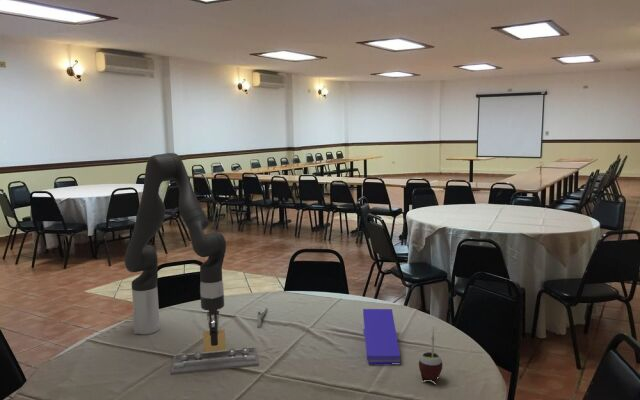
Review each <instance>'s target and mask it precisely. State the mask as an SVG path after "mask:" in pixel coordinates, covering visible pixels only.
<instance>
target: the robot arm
mask: <svg viewBox="0 0 640 400" xmlns="http://www.w3.org/2000/svg"><path fill="white" fill-rule="evenodd" d="M143 179H144V180H143V181H144V182H143V187H142V193H141V194H142V195H141V199H140V202H139V207H138V209H137V210H138V211H137V213H136V217H135V223H134V228H133V231H132V235H131V236H130V240H129V243H128V245H127V248H126V251H125V254H124V265H125V268H126V269H127V271H129V272H131V273H137V272H138V273H139V272H142V273H140V274H139V276H137V277H136V278H134V279H133V280H132V281H131V295H132V311H131V312H132V324H133V334H134V335H135V334H136V335H150V334H154V333H157V332H159V330H160V328H161V323H160V322H161V321H160V311H159V309H160V307H159V294H158V293H159V291H158V277H159V276H158V275H159V273H158V272H159V271H158V268H159V266H158V264H159V263H158V254H157V250H156V248H155V246H153V245H151V244H148V242H149V241H150V240H151V239H153V237H154V236H156V234H158V232H159V231H160V230H161V228H162V226H163V223H164V220H165V215H166V206H165V204H164V201H163V199H162V198H161V196H160V187H161V184H162V183H163V182H169V181H174V182H175V184H176V186H177V188H178V190H179V197H178V209H179V210H178V211H179V213H180V216H181V218H182V220H183V222H184V223H185V226H186V227H187V229H188V233H189V237H190V242H191V245H192V249H193V251H194V252H195V254H196V255H198V257H200V258H207V259H206V260H205V261H204V262H202V263H201V264H200V266H199V274H200V276H199V279H200V284H199V285H200V286H199V289H200V290H199V293H200V307H201V309H202V310H204V311H206V319H207V327H208V329H209V331H210V336H211V346H217V345H218V330H219V327H220V310H221V309H222V308H224V306H225V294H224V293H225V292H224V291H225V290H224V288H225V287H224V282H223V263H224V259H225V256H226V251H227V250H226V249H227V241H226V239H225V237H224V235H223V233H221V232H218V231H216V232H210V233H206V234H205V232H204V231H205V230H206V229H207V228H208V227H209V225H210V221H209V219H208V217H207V215H206V213H205V211H204V210H203V208H202V206H201V204H200V203H199V199H197V196H196V194H195V191H194V189H193V185H192V184H191V183H192V182H191V180H190V177H189V175H188V172H187V169H186V167H185V164H184V162H183V159H182V158H181V157H180V155H179V154H177V153H175V152H168V153H167V152H166V153H161V154H160V153H159V154H153V155H151V156H150V157H149V158H148V159H147V162H146V165H145V173H144V178H143Z"/></svg>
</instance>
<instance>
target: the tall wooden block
mask: <svg viewBox="0 0 640 400" xmlns="http://www.w3.org/2000/svg"><path fill="white" fill-rule="evenodd" d="M202 337H203V338H202V339H203V352H212V351H222V350H227V347H226V328H225V329H218V345H217V346H211V336H210V330H204V331H203V334H202Z"/></svg>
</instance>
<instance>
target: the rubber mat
mask: <svg viewBox="0 0 640 400" xmlns="http://www.w3.org/2000/svg"><path fill="white" fill-rule="evenodd" d="M253 355H255V361H247V362H246V361H236V362H226V363H216V364H207V365H197V366H187V367H184V368H178V369H174V363H181V359H176V355H173V357H172V363H171V368H170V376H172V375H180V374H190V373H200V372H209V371H218V370H230V369H236V368H237V369H238V368H248V367H256V366H257V367H258V366H259V365H260V362H259V356H258V351H257V347H254V352H249V356H253ZM236 356H242V354H236ZM222 357H228V355H224V356H214V357H204V358H202V359H212V358H222ZM192 360H195V358H194V359H188V361H192Z"/></svg>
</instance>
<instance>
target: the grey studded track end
mask: <svg viewBox="0 0 640 400" xmlns="http://www.w3.org/2000/svg"><path fill="white" fill-rule="evenodd" d="M254 348H255V347H254V346H246V347H243V348H229V349H226V350H221V351H215V356H224V355H228V357H222V358H215V364H216V363H226V362H236V361H246V362H247V361H255V355H253V356H249V352H254ZM236 354H242V356H236Z"/></svg>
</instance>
